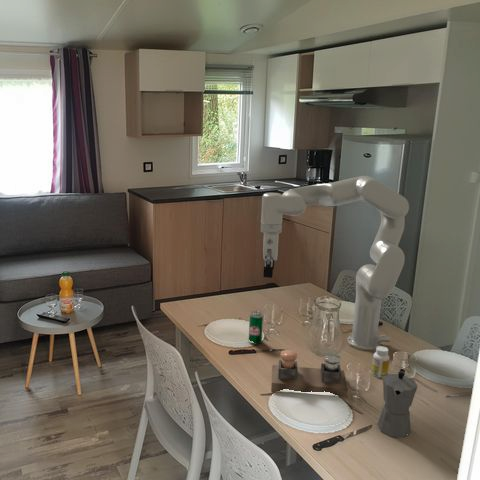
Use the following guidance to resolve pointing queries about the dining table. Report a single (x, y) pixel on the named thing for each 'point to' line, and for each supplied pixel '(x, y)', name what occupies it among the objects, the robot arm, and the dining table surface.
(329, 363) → the grey plunger
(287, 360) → the terracotta plunger
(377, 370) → the supplement bottle
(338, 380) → the panel
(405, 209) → the robot arm
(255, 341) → the soda can
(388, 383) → the coffeepot
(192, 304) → the dining table surface
